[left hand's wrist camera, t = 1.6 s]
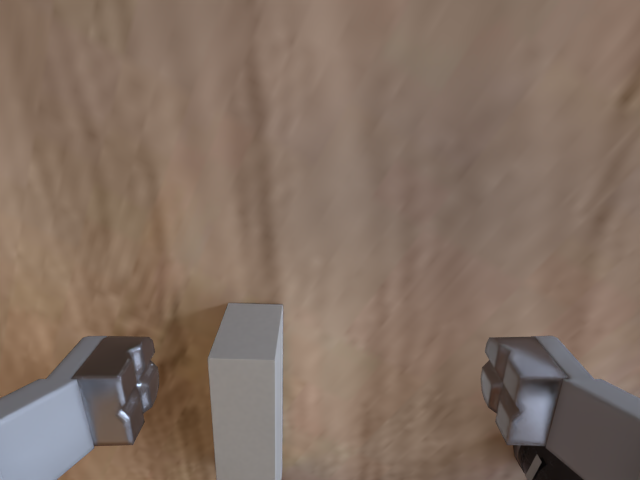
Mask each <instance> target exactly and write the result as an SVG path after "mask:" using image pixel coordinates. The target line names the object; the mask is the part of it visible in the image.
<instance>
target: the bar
mask: <svg viewBox="0 0 640 480" xmlns="http://www.w3.org/2000/svg"><path fill="white" fill-rule="evenodd" d="M208 371H209V384H210V398H211V412H212V425H213V439H214V453H215V466H216V480H281V478H282V384H283V305H279V304H242V303H228V305H227V308H226V311H225V313H224V316H223V319H222V321H221V324H220V327H219V329H218V332H217V335H216V338H215V340H214V343H213V346H212V348H211V351H210V354H209V356H208Z"/></svg>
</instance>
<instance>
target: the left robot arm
mask: <svg viewBox="0 0 640 480" xmlns="http://www.w3.org/2000/svg"><path fill="white" fill-rule="evenodd" d="M154 353H155V349H154V344H153V340H152V339H151V338H150V337H129V336H87V337H84V338H82V339H81V340H80V342H79V343H78V344H77V345H76V346H75V347H74V348H73V349H72V350H71V352H70V353H69V354H68V355H67V356H66V357H65V358H64V359H63V360H62V362H61V363H60V364H59V365H58V366H57V367H56V368H55V369H54V371H53V372H52V373H51V374H50V375H49V376H48V377H47V378H46V379H38V380H36V381H34V382H32V383H30V384H28V385H26V386H24V387H22V388H20V389H18V390H16V391H14V392H12V393H10V394H8V395H6V396H4V397H2V398H0V480H57V479H58V478H59V477H60V476H61V475H63V474H64V473H65V472H66V471H67V470H69V469H70V468H71V467H72V466H73V465H75V464H76V463H77V462H78V461H79V460H81V459H82V458H83V457H84V456H85V455H87V454H88V453H89V452H90V451H91V450H93V449H94V446H112V445H133V444H134V442H135V440H136V438H137V436H138V434H139V432H140V430H141V428H142V426H143V424H144V422H145V421H144V416H143V413H144V412H146V411H147V410H149V409H150V408H152V406H153V404H154V402H155V400H156V397H157V392H158V388H159V372H158V367H157V366H156V365H155V364H154V363H153V362H152V361H151V358H152V356H153V355H154ZM485 353H486V355H487V356H488V358H489V361H488V362H487V363H486V364H485V365H484V366H483V367H482V373H481V388H482V393H483V397H484V400H485V402H486V404H487V406H488V407H489V408H490V409H491V410H493V411H494V412H496V413H497V416H496V421H495V422H496V424H497V426H498V428H499V430H500V432H501V434H502V436H503V438H504V440H505V442H506V444H507V445H527V446H546V449H548V450H549V451H550V452H551V453H552V454H554V455H555V456H556V457H557V458H558V459H560V460H561V461H562V462H563V463H564V464H566V465H567V466H568V467H569V468H570V469H572V470H573V471H574V472H575V473H576V474H578V475H579V476H580V477H581V478H582V479H584V480H640V398H638V397H636V396H634V395H632V394H630V393H628V392H626V391H624V390H622V389H620V388H618V387H616V386H614V385H612V384H610V383H608V382H606V381H604V380H602V379H594V378H593V377H592V376H591V375H590V374H589V373H588V372H587V371H586V369H585V368H584V367H583V366H582V365H581V364H580V363H579V362H578V360H577V359H576V358H575V357H574V356H573V355H572V354H571V353H570V352H569V350H568V349H567V348H566V347H565V346H564V345H563V344H562V343H561V342H560V340H559V339H558V338H556V337H554V336H531V337H489V339H488V341H487V343H486V349H485Z"/></svg>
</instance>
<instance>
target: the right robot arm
mask: <svg viewBox="0 0 640 480" xmlns="http://www.w3.org/2000/svg"><path fill="white" fill-rule="evenodd" d="M514 454H515V457H516V459H517V461H518V463H519V465H520V467H521V468H522V470H523V472H524V473H525V476H526V478H527V480H584V479H582V478H581V477H580V476H579V475H578V474H576V473H575V472H574V471H573V470H572V469H570V468H569V467H568V466H567V465H566V464H564V463H563V462H562V461H561V460H560V459H558V458H557V457H556V456H555V455H554V454H552V453H551V452H550V451H549V450H548V449H546V446H527V445H514Z"/></svg>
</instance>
